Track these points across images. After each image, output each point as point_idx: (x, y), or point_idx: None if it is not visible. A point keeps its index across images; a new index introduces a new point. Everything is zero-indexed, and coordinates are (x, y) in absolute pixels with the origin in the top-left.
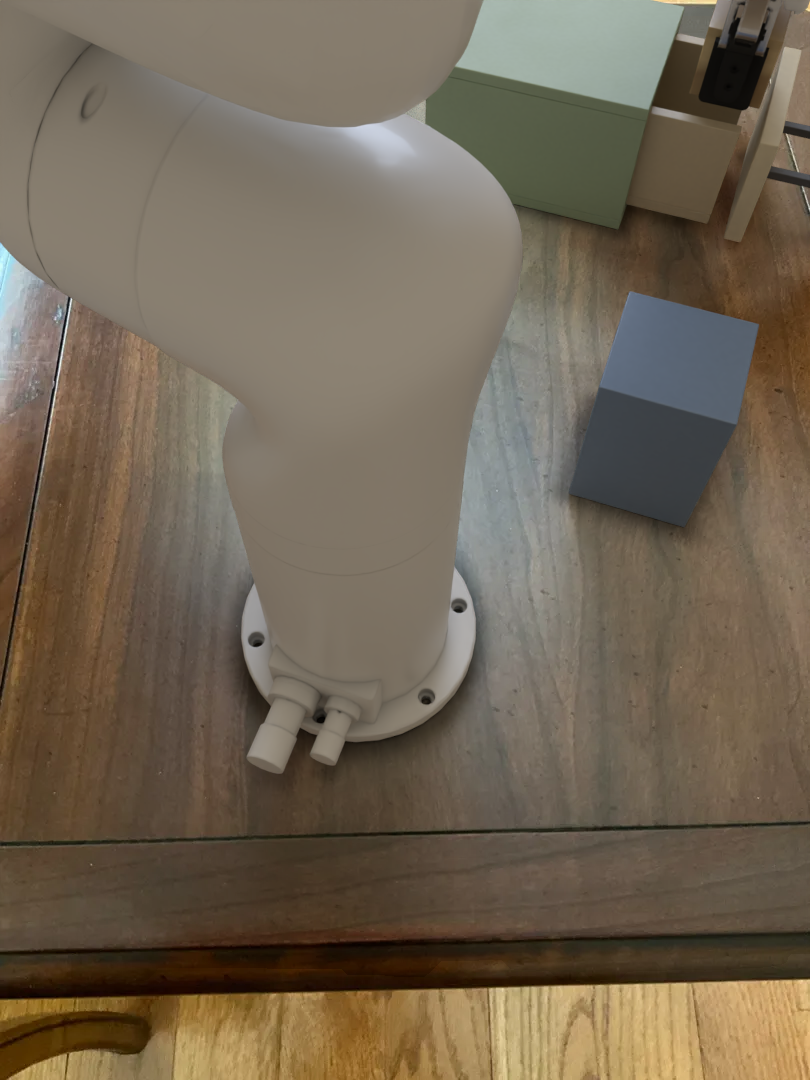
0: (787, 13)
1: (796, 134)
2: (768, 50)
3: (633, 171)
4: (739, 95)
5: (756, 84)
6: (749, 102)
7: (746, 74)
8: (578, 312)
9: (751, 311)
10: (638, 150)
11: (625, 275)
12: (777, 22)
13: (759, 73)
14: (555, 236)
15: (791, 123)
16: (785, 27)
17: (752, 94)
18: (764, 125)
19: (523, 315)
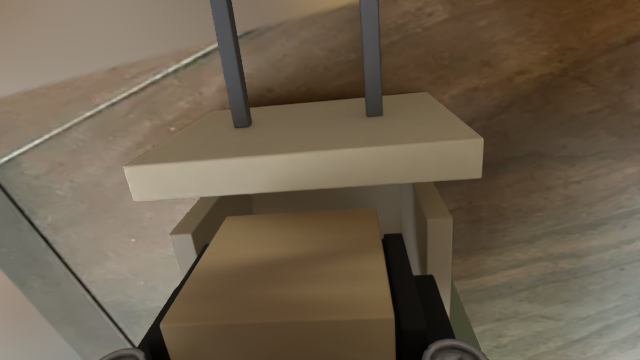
0: (233, 329)
1: (245, 86)
2: (413, 329)
3: (458, 295)
4: (434, 279)
5: (409, 266)
6: (402, 240)
7: (446, 317)
8: (592, 239)
9: (538, 35)
10: (469, 322)
11: (512, 208)
12: (296, 346)
13: (413, 286)
14: (469, 293)
15: (234, 104)
16: (308, 323)
17: (405, 251)
18: (417, 182)
19: (610, 289)
